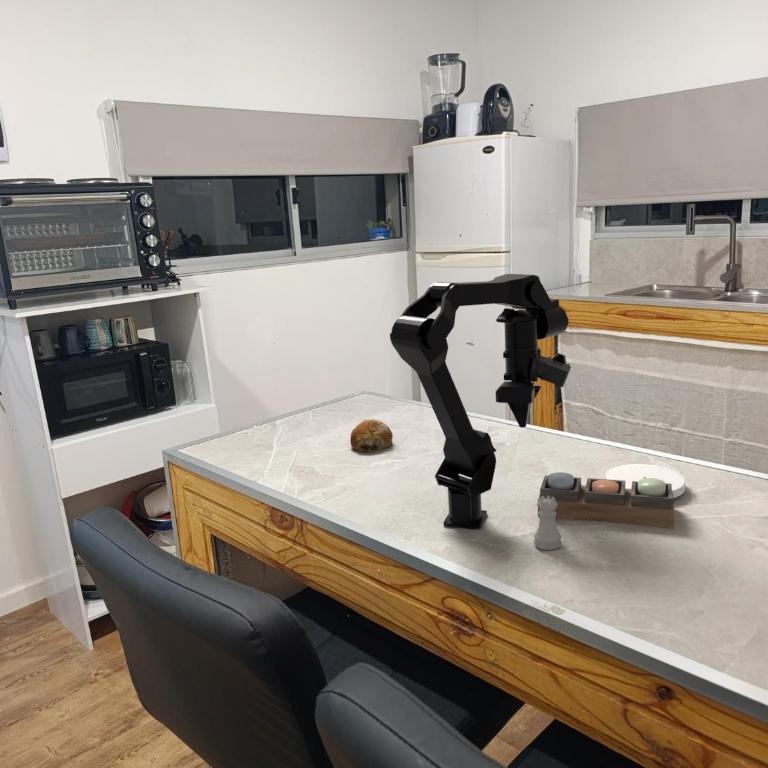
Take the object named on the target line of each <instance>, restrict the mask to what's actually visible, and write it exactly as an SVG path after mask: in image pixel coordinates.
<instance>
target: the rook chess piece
mask: <svg viewBox="0 0 768 768" xmlns="http://www.w3.org/2000/svg"><path fill="white" fill-rule="evenodd" d="M538 498H539V497H538ZM536 506H537V508H538V507H539V508H540V511H539V513H538V512H537V515H538V514H539V515H540V516H539V520H538V521H539V522H538V528H537V529H536V532H535V533H534V535H533V538H534V539H533V544H534V545H535V546H536V548H538V549H540V550H542V551H555V550H558V549H559V548H560V547H561V546H562V543H563V541H562V534H561V533H560V532H559V529H558V527H557V521H556V518H555V515H556V514H557V513H556V512H555V509H556V507H557V506H558V504H557V502H556V501H555V498H554V497H551V499H550V496H547V498H545V496H541V498H539V501H538V500H537V503H536Z"/></svg>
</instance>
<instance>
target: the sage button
mask: <svg viewBox="0 0 768 768" xmlns="http://www.w3.org/2000/svg"><path fill="white" fill-rule="evenodd" d="M665 493H666V483H665V482H664V481H662V480H659V479H655V478H644V479H641V480H639V481H638V495H646V496H659V497H665Z"/></svg>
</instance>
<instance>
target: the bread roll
mask: <svg viewBox="0 0 768 768" xmlns="http://www.w3.org/2000/svg"><path fill="white" fill-rule="evenodd" d="M393 434H394V433H393V432H392V430H391V428H390V427H389V426H388V425H387V424H386V423H385V422H383V421H381V420H379V419H373V418H372V419H364V420H363V421H361V422H359V423H358V424H357V425H356V426H355V427H354V428H353V429H352V430H351V433H350V440H349V441H350V446H351V448H352V449H353V450H354V449H355V450H354V451H357V452H364V453H365V452H367V453H371V452H377V451H381V450H384V449H387V448H389V447H390V446H391V445H392V443H393V437H394V435H393Z"/></svg>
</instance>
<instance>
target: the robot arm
mask: <svg viewBox="0 0 768 768" xmlns="http://www.w3.org/2000/svg"><path fill="white" fill-rule="evenodd" d="M492 304H493V305H495V304H496V305H500V306H506V307H510V308H504V309H503V310H502V312H501V313H500V314H499V315H498V316H497V317H496V319H495V320H496V321H495V322H496V323H502V324H504V350H503V352H502V358H503V359H505V372H504V374H503V382H502V383H501V384H500V385H499V386H498V387H497V389H495V402H496V403H498V404H499V403H501V404H507V405H508V406H509V409H510V410H511V413H512V415H513V416H514V419H515V420H516V422H517V424H518V426H519V428H526V427H527V424H528V419H529V414H530V410H531V406H532V405H531V404H532V403H533V401H534V400H535V398H536V397H537V396H538V394H539V392H540V390H541V388H542V386H540V385H535V383H534V382H538V381H539V379H540V381H544V382H545V381H546V382H547V383H550V384H554V386H555V387H559V388H563V387H564V386H565V383H566V381H567V379H568V376H569V374H570V371H571V368H572V367H571V365H570V363H567V358H566V355H565V354H562V353H559V352H558V353H556V354H555V355H554V356H553V357H552V358H551V356H548V357H547V356H543V355H542V348H541V349H540V346H538V340H543V339H548V338H551V337H554V336H555V337H556V336H558V335H562V334H563V333H565V331H566V330H567V329H568V327H569V323H570V321H569V317H568V315H567V312H566V310H565V309H564V308H563V307H562V306H561V305H560V299H554V298H550V296H549V295H548V292H547V291H546V289H545V287H544V285H543V283H542V282H541V280H540V276H538V275H535V274H522V273H520V274H518V273H506V274H502V275H498V276H496V277H494V278H493V279H492V280H487V281H485V280H484V281H469V282H468V281H463V282H448V281H447V282H445V281H436V282H434V283H431V285H429V286H428V288H427V289H426V291H425V292H424V294H423V295H421V296H420V297H419V298H417V299H416V300H415V301H414V302H412V303H410V305H408V306H407V307H406V308H405V310H404V311H403V312H402V313H401V315H400V316H399V317H398V318H397V319H396V321H394V323H393V325H392V326H391V327H392V328H391V331H390V333H389V339H390V343H391V346H392V347H393V348H394V350H395V351H396V353H397V354H398V355H399V357H400V358H401V359H402V361H404V362H405V363H406V364H407V365H408V366H409V367H411V368H412V369H413V371H415V373H416V374H417V377H418V379H419V380H420V382H421V383H420V384H421V386H422V387H423V389H424V393H425V394H426V397H427V399H428V401H429V404H430V406H431V408H432V410H433V412H434V414H435V416H436V419H437V421H438V423H439V425H440V429H441V430H442V433H443V435H444V438H445V440H444V445H443V448H442V451H443V456H444V459H443V461H442V462H441V464H440V465H439V467H438V469H437V471H436V473H435V475H434V478H435V481H436V483H437V485H438V486H442V487H445V488H447V501H448V514H447V516H446V517H445V519H444V521H442V523H443V526H446V527H453V528H454V527H456V528H465V529H467V528H468V529H475V530H476V529H481V527H482V524H483V523H484V521H485V519H486V517H487V515H488V511H487V510H484V509H482V494H484V493H486V492H488V491H490V490H492V485H493V481H494V478H495V477H494V474H495V470H496V467H497V466H496V465H497V458H496V454H495V453H496V452H497V449H496V448H495V446H494V445H493V443H492V439H491V436H490V434H489V433H488V432H485V431H482V430H480V429H479V430H478V429H475V428H473V425H472V422H471V420H470V418H469V416H468V413H467V411H466V408H465V407H464V404H463V402H462V398H461V397H460V394H459V391H458V389H457V387H456V384H455V381H454V380H453V378H452V375H451V372H450V370H449V368H448V365H447V362H446V360H447V356H448V353H449V352H448V350H449V344H448V340H447V338H448V336H449V335H450V333H451V332H452V330H453V329H454V327H455V322H456V313H457V311H458V310H459V308H460V307H467V306H469V307H470V306H480V305H492ZM438 308H440V310H439V313H438V314H437V316H436V317H435V318H429V316H431V315H432V314H433V313H435V312H436V311H437V310H438Z"/></svg>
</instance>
